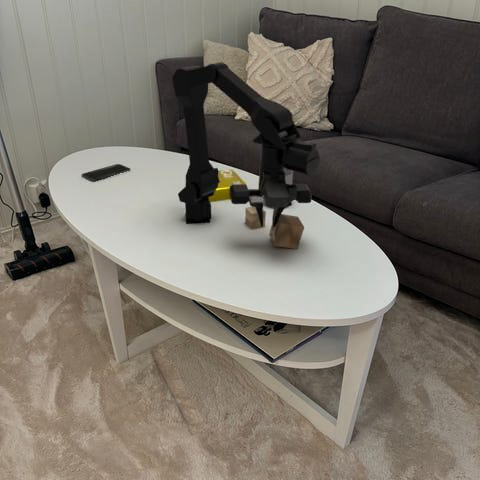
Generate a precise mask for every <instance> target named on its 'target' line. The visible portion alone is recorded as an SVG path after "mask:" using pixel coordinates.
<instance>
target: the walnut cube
mask: <svg viewBox="0 0 480 480" xmlns="http://www.w3.org/2000/svg"><path fill="white" fill-rule="evenodd" d="M304 229H305V226H304V224H303V222H302V221H301V219H300V218H299V216H295V215H291V214H290V215H289V214H284V213H281V215H280V217H279V219H278V221H277V223H276V225H275V227H273V226H272V225H271V227H270V230H269V234H268V235H269V237H270V240H271V242H272V244H273V247H280V248H281V247H282V248H288V249H295V250H298V248H299V245H300V242H301V239H302V237H303V236H302V235H303V233H304Z"/></svg>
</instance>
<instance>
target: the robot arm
mask: <svg viewBox="0 0 480 480" xmlns="http://www.w3.org/2000/svg"><path fill="white" fill-rule="evenodd" d="M171 80H172V85H173V90H174V94H175V97H176V99H177V100H178V101H179V103H180V105H181V106H182V108H183V115H184V123H185V124H184V125H185V132H186V133H185V134H186V141H187V150H188V159H189V165H188V168H187V171H186V174H185V186H184V188H182V189H181V190H180V191H179V192H177V195H178V199H179V202H181V203H184V208H185V214H184V215H185V216H184V217H185V224H186V225H194V224H195V225H196V224H197V225H198V224H209V223H211V219H212V202H210V201H209V197H211V196H213V195H214V192H215V190H216V189H217V188H218V183H220V181H219V177H218V171H219V169H218V167H213V165H212V163H211V162H210V156H209V148H208V146H209V145H208V137H207V128H206V118H205V108H204V107H205V105H204V103H205V102H206V98H207V96H208V93H209V84H213V85H214V86H215V87H216V88H218V89H219V90H220V91H221V92H222V93H223V94H225V95H226V97H228V98H229V99H230V100H231V101H232V102H234V103H235V104H236V105H237V106H238V107H239V108H241V109H242V110H243V111H245V112H246V114H247V115H248V116H249V118H250V121H251V124H252V126H254V128H255V129H256V130H257V131H258V133H259V134H258V135H257V136H256V137H254V138H253V139H252V142H253V143H255V144H259V145H260V158H259V159H260V160H259V168H258V169H259V172H258V173H259V175H258V186H257V187H258V188H257V189H256V188H254V189H253V188H250V189H249V188H248V186H247V184H234V185H231V186H230V190H229V195H230V202H231V204H233V205H246V204H248V202H249V207H255V208H256V211H257V215H258V218H259V222H260V225H261V227H262V228H264V227H263V209H264V205H263V203H262V199H263V197H264V200H265V205H266V206H267V207H269V208H268V209H271V208H273V207H274V209H272V210H273V211H272V220H271V221H272V224H271V226H273V227H275V225H276V223H277V221H278V219H279V217H280V215H281V214H283V212H284V210H285V209H287V208H286V207H288V206H289V207H291V206H292V205H293V203H292V202H293V201H296V202H297V203H298V204H310V203H312V197H313V195H312V191H311V189H310V188H309V187H308V186H307V184H306V183H292V184H291V185H289V184H286V181H285V168H286V169H287V170H291V171H293V173H294V172H295V173H298V174H301V175H305V176H313V175H314V174H315V172H316V171H317V169H318V167H319V163H320V161H321V160H320V159H321V156H320V153H319V151H318V149H317V144H316V143H314V142H308V141H307V142H306V141H302V135H301V134H300V132H299V130H298V128H297V126H296V123H295V122H294V119H293V114H292V112H291V111H290V109H289V108H287V107H286V106H284V105H282V104H281V103H279V102H277V101H274V100H271V99H268V98H266V97H263V96H262V95H261V94H260V93H259V92H258V91H256V90H255V89H254V88H252V87H251V86H250V84H248V83H246V82H245V81H244V80H243V79H242V78H241V77H240V76H238V75H237V74H236V73H234V71H232V70H231V69H230V68H229V66H228V65H227V63H225V62H223V61H222V62H220V61H218V62H214V63H209V64H207V65H206V66H200V65H193V66H188V67H182V68H181V67H180V68H177V69H176V70H175V72H174V73H173V74H172V79H171ZM283 134H286V135H284V136H281V135H283ZM267 207H266V208H267ZM289 207H288V208H289Z"/></svg>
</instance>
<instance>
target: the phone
mask: <svg viewBox="0 0 480 480" xmlns="http://www.w3.org/2000/svg"><path fill="white" fill-rule="evenodd" d="M127 171H130V172H131V168H130V167H128V166H125V165H123V164H120V163H116V164H113V165H108V166H105V167H101V168H97V169H95V170H91V171H88V172H87V171H86V172H84V173H82V174H81V177H82V178H83V179H85V180H86V181H87V180H88V181H89V182H90V183H91V182H92V183H94V182H95V183H96V181H97V182H99V180H100V181H103V180H106V179H105V178H107V179H109V178H108V177H110V178H112V177H111V176H114V175H117V174H120V173H124V172H127ZM127 173H128V172H127ZM124 174H125V173H124ZM120 175H121V174H120ZM117 176H118V175H117ZM114 177H115V176H114ZM102 179H103V180H102Z"/></svg>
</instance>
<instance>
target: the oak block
mask: <svg viewBox="0 0 480 480" xmlns="http://www.w3.org/2000/svg"><path fill="white" fill-rule="evenodd" d="M266 212H267V211H266V210H265V209H264V208H263V227H261V225H260V222H259V218H258V215H257V211H256V208H255V207H252V206H249V207H248V206H247V207H245V215H244V217H245V218H244V223H245V225H246V226H247V227H248V228H249V229H251V230H255V229H260V228H261V229H262V228H266V214H267V213H266Z"/></svg>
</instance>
